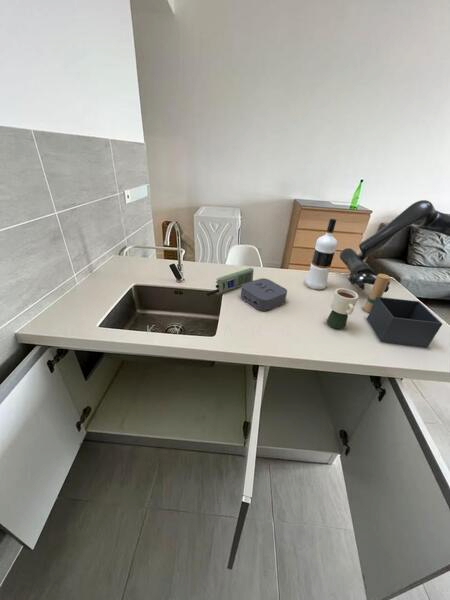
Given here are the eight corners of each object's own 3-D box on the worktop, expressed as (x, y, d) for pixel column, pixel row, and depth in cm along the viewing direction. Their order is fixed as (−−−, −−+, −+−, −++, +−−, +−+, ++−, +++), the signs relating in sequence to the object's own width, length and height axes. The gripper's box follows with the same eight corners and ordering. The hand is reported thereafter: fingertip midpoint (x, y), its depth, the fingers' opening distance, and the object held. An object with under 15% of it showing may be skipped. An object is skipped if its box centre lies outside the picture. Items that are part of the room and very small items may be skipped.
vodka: (300, 281, 114) (316, 216, 99) (317, 280, 117) (335, 215, 101) (312, 291, 107) (331, 222, 91) (330, 289, 109) (351, 221, 94)
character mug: (352, 334, 82) (366, 302, 75) (332, 334, 81) (344, 302, 75) (338, 316, 91) (348, 285, 84) (319, 316, 91) (329, 285, 84)
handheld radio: (253, 282, 111) (209, 298, 97) (248, 280, 113) (204, 295, 99) (254, 269, 108) (209, 283, 94) (249, 267, 110) (204, 280, 96)
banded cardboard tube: (372, 308, 97) (387, 274, 90) (377, 314, 94) (393, 279, 86) (361, 306, 98) (375, 272, 90) (365, 312, 94) (380, 278, 86)
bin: (407, 323, 89) (419, 301, 84) (427, 347, 78) (442, 323, 73) (366, 318, 91) (376, 296, 86) (381, 341, 79) (393, 318, 74)
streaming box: (288, 302, 98) (290, 291, 95) (262, 313, 90) (263, 301, 88) (263, 287, 108) (264, 277, 105) (237, 296, 100) (238, 285, 97)
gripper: (346, 262, 106) (359, 278, 92) (381, 265, 104) (398, 282, 91) (341, 277, 110) (352, 295, 96) (374, 280, 108) (390, 299, 95)
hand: (375, 288), depth 93 cm, fingers open, 8 cm apart
